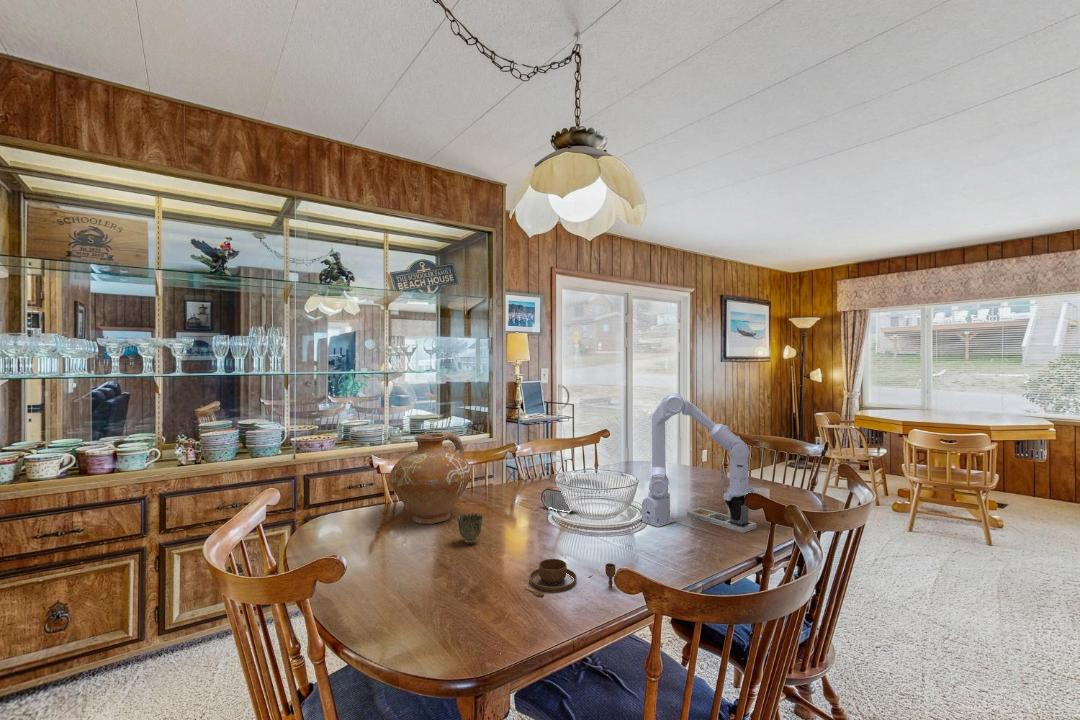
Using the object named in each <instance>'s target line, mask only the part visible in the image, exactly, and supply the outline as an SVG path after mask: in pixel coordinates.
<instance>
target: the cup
mask: <svg viewBox="0 0 1080 720" xmlns="http://www.w3.org/2000/svg"><path fill="white" fill-rule="evenodd" d="M457 522H458V530H459V534H460V536H461V538H462V539H464V541H463V542H464V543H465V544H467V545H473V544H475V543H476V542H477V538H478V537H479V536H480V534H481V532H482V525H483V523H482V522H483V514H480V513H478V515H477V513H474V512H473V513H468V514H466V513H463V514H460V515H459V517H457Z"/></svg>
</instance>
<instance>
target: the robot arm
mask: <svg viewBox="0 0 1080 720" xmlns="http://www.w3.org/2000/svg"><path fill="white" fill-rule="evenodd" d="M680 413H682V415H684V416H689V417H692V418H693V419H694V420H696V421H697V422H698V423H699V424H701V425H702V426H703V427H704V428H705V429H706V430H708V431H709V438H711V439H712V440H713V441H714V442H716V443H717V444H718V445H719V446H721V447H722V448H723V449H724V450H726V451H728V452H729V454H730V455H729V489H728V490H727V491H726V492H725V493H723V498H722V499H723V500H724V501H725V503H726V505H727V507H728V510H729V515H730V514H731V517H732V519H733V520H736V521H738V520H739V516H740V508H741V505H742V502H744V496H745V495H746V494H748V493H753V494H754V493H755V487H753V486H749V463H748V461H749V458H748V457H749V456H750V452H751V451H750V448H749V447H748V445H747V444H746V443H745V442H744V440H743V439H741V437H740V436H739V435H736V434H735V433H734V432H732V431H731V430H730V429H729V428H730V427H729V426H728V425H726V424H725V425H724V424H723V423H715V422H714V421H713V420H712V419H710V417H709V416H708V415H706V414H705V413H704V412H703V411H702V410H701V409H700V408H698V407H697V406H696V405H695V404H694V403H693V402H691V401H689V400H688V399H686V398H683V396H681V395H680V394H679V393H676V392H674V393H670V394H668V395H667V396H665V397H664V398H663V399H662V400H661V402H660V403H659V404H658V406H657V407H656V409H655V410H654V411H653V413H652V415H651V465H652V466H651V467H652V468H651V477H650V480H649V486H648V489H649V491H648V495H647V497H645V498H644V499H643V500H642V502H641V519H642V521H641V522H643V523H645V524H648V525H651V526H654V527H659V528H660V527H661V526H665V525H668V524H672V523H674V522H676V521H677V520H676V519H673V518H671V494H670V492H669V483H670V482H669V478H668V477H667V473H666V469H667V468H666V467H667V466H666V422H667V421H668V420H670V419H671V418H672V417H673V416H676V415H678V414H680ZM749 509H750V508H749ZM749 509H748V511H749Z"/></svg>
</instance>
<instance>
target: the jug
mask: <svg viewBox="0 0 1080 720" xmlns="http://www.w3.org/2000/svg"><path fill="white" fill-rule="evenodd" d="M414 441H415V442H417V449H416V450H414V451H413V452H410V453H409V454H406V455H404V456H403V457H402V458H400V459H399V460H398V461H397V462H396V463H395V464H394V466H393V467H392V468H391V471H390V473H389V484H390V486H391V488H392V490H393V492H394V493H395V494H396V496H397V497H398V499H399V500H400V501H401V502H402V504H403V506H405V507H406V508H407V509H408V511H409V512H411V513H412V515H413V517H412V521H413V522H415V523H418V524H421V525H433V524H439V523H442V522H446V521H448V520H449V519H450V518H451V516H452V515H451V510H452V509H453V508H454V506H455V505H456V503H457V502H458V501H459V500H460V498H461V497H462V495H463V494H464V492H465V491H466V488H467V487H468V484H469V483H470V480H471V476H472V469H471V466H470V464H469V462H468V461H467V459H466V458H465V455H464V453H465V452H464V445H463V442H462V440H461V438H460V437H459V436H458V435H457V434H455V433H454V432H450V431H443V432H436V433H435V432H434V433H425V434H420V435H416V436H414ZM444 441H450V442H452V443H453V445H454V446H455V449H454V450H451V449H447V448H445V447H444V446H443V445H444V444H443V442H444Z"/></svg>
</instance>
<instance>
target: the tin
mask: <svg viewBox="0 0 1080 720" xmlns="http://www.w3.org/2000/svg"><path fill="white" fill-rule="evenodd" d="M559 488H560V487H558V486H552V485H551V486H547V487H546V488H544V490H542V491H541V494H540V499H541V503H542V506H544V508H545V509H546V510H549V509H548V508H549V507H552V508H555V509H559V510H564V511H570V509H569V507H568V505H567V504H566V502H565V499H564V497H563V495H562V493H561V491H560V489H559Z"/></svg>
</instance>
